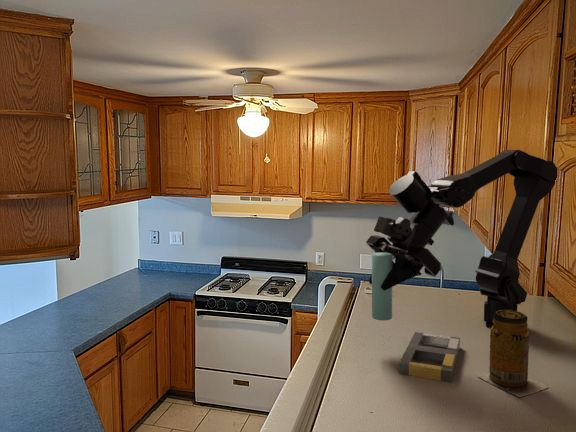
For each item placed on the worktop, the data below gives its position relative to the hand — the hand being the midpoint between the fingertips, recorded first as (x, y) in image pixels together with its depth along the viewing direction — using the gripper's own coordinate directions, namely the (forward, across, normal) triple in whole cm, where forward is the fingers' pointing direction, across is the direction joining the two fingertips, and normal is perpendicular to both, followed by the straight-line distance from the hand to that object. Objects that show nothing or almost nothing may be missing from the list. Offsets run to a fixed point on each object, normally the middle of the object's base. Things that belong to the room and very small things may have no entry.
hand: (376, 286), depth 92 cm
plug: (+4, 0, +6) cm, 7 cm away
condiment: (0, +21, +19) cm, 29 cm away
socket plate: (+4, +8, +14) cm, 17 cm away
